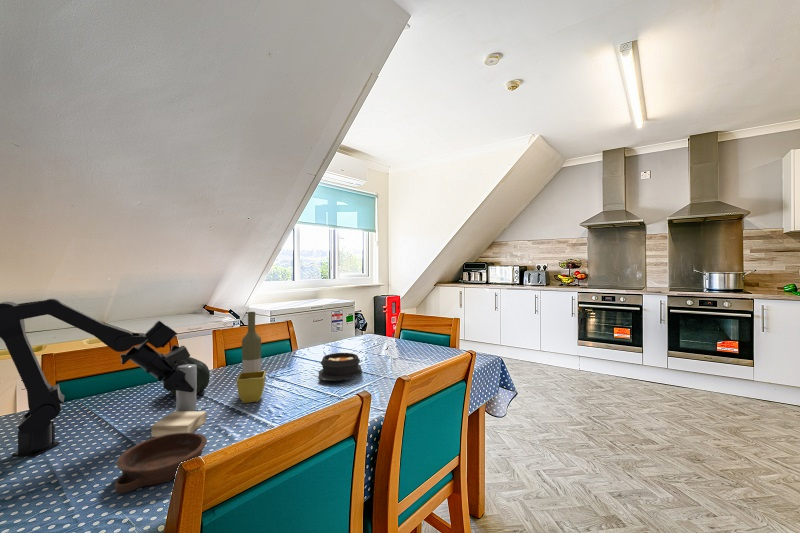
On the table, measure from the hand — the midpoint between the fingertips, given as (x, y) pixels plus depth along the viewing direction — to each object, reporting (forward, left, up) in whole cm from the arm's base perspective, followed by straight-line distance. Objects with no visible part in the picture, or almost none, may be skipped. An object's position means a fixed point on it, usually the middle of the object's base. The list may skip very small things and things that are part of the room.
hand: (191, 388), depth 117 cm
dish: (-32, -12, -8) cm, 35 cm away
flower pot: (+11, -15, -8) cm, 20 cm away
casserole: (+39, -42, -8) cm, 58 cm away
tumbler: (-1, +1, -7) cm, 7 cm away
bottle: (+21, -11, -8) cm, 25 cm away
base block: (-11, -3, -8) cm, 14 cm away
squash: (+19, +12, -8) cm, 24 cm away
